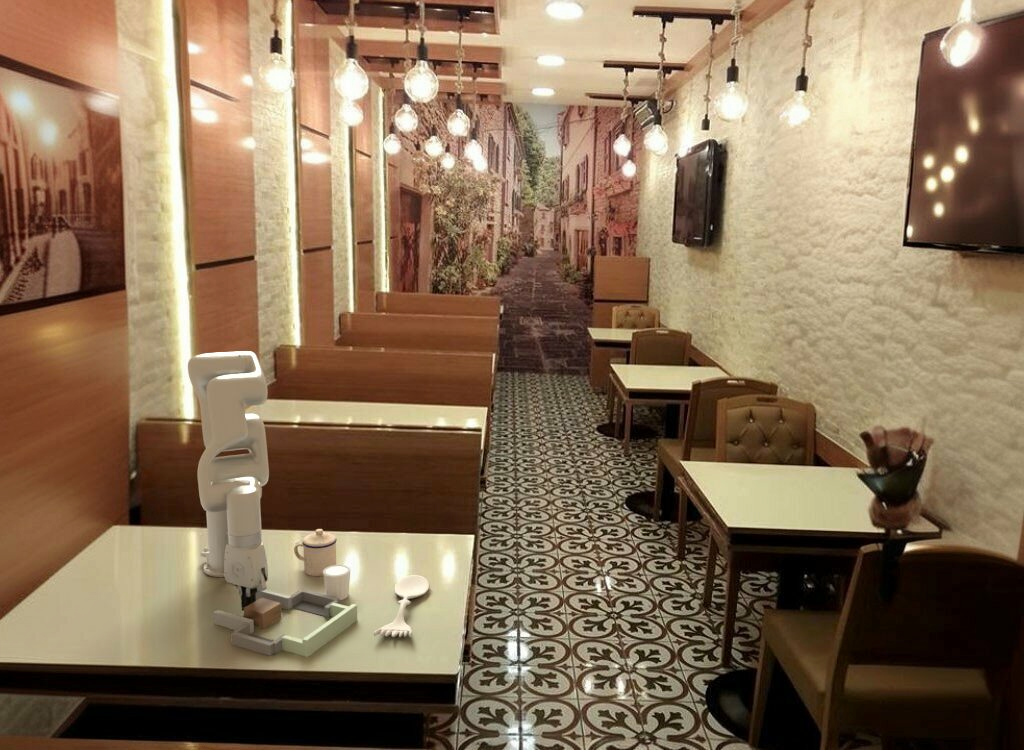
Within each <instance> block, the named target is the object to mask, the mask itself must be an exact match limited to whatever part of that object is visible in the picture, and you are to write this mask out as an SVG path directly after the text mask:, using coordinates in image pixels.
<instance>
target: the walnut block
mask: <svg viewBox="0 0 1024 750" xmlns="http://www.w3.org/2000/svg"><path fill="white" fill-rule="evenodd" d="M243 617H245V618H248V619H252V620H253V624H254V627H256V628H258V629H263V630H264V629H266V628H268V627H269V626H270V625H272V624H274V623H276V622H278V621H279V620H281V619H282V608H281V603H279V602H275V601H272V600H268V599H265V598H260V599H259V600H257V601H255V602H253V603H252V604H250V605H248V606H246V607H244V611H243Z"/></svg>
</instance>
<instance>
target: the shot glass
mask: <svg viewBox="0 0 1024 750" xmlns="http://www.w3.org/2000/svg"><path fill="white" fill-rule="evenodd" d="M322 577H323V583H324V589H325V595H328V596H332V597H336V598H339V599H340V601H343V600H346V599H347V598H348V597H349V595H350V593H349V592H350V580H351V579H350V578H351V568H350V567H349V566H347V565H343V564H336V565H333V566H329V567H327V568H325V569H324V570H323V576H322Z"/></svg>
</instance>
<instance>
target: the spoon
mask: <svg viewBox="0 0 1024 750" xmlns="http://www.w3.org/2000/svg"><path fill="white" fill-rule="evenodd" d="M430 586H431V585H430V582H429V580H428V579H427V578H426V577H424V576H422V575H418V574H410V575H406V576H404V577H401V578H400V579H399V580H398V581H397V582H396V583H395V585H394V588H393V589H394V590H393V591H394V593H395V594H396V595H397V596H398V597H400V598H402V599H401V600H398V601H397V604H398V605H400V606H399V608H398V611H397V614H396V617H395V618H394V620H392V621H391V622H390V623H388V624H385V625H383V626H382V627H380V628H378V629H376V630H374V632H373V636H375V637H376V636H377V635H379V636H380V637H382V636H385V637H389V636H391V637H392V638H395V637H397V636H398V638H401V637H402V636H403V637H404V638H406V637H407V636H408V637H409V638H411V637H412V635H413V630H412V629H413V628H412V627H411V626H410V625H409V624H407V623H406V622H405V618H404V614H405V609H406V607H407V606H408V605H410V604H411V602H412V601H410V600H411V599H414V598H415V599H416V598H418V597H421V596H423V595H425V594H426V593H427V592H428V590H429V589H430Z"/></svg>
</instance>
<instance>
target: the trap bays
mask: <svg viewBox="0 0 1024 750" xmlns="http://www.w3.org/2000/svg"><path fill="white" fill-rule="evenodd" d="M290 596H292V608H291V609H294V610H295V609H296V610H300V611H302V612H307V613H310V614H314V615H318V616H322V617H324V618H330V617H332V616H331V612H330V604H332V603H337V604H340V601H341V600H340V599H339V598H336V597H332V596H328V595H326V594H325V593H324V594H323V593H320V592H317V591H311V590H307V589H302V590H298V591H295V592H294V593H293V594H290ZM285 635H286V634H285V633H283V634H282V635H280V636H279V637H277V638H276V639H274V640H273V639H270V638H266V637H262V636H260V635H256V634H254V633H251V634H250V624H247V623H245V624H244V625H242V626H240V627H239V628H237V629H235V630H234V629H233V630H232V633H231V634H230V638H231V639H230V640H231V645H232V646H236V647H238V648H239V647H240V648H243V649H246V650H249V651H253V652H255V653H259V654H263V655H265V656H269V657H270V656H271V657H272V655H274V654H275V655H277V654H279V653H280V652H282V651H283V650H282V637H283V636H285Z"/></svg>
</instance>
